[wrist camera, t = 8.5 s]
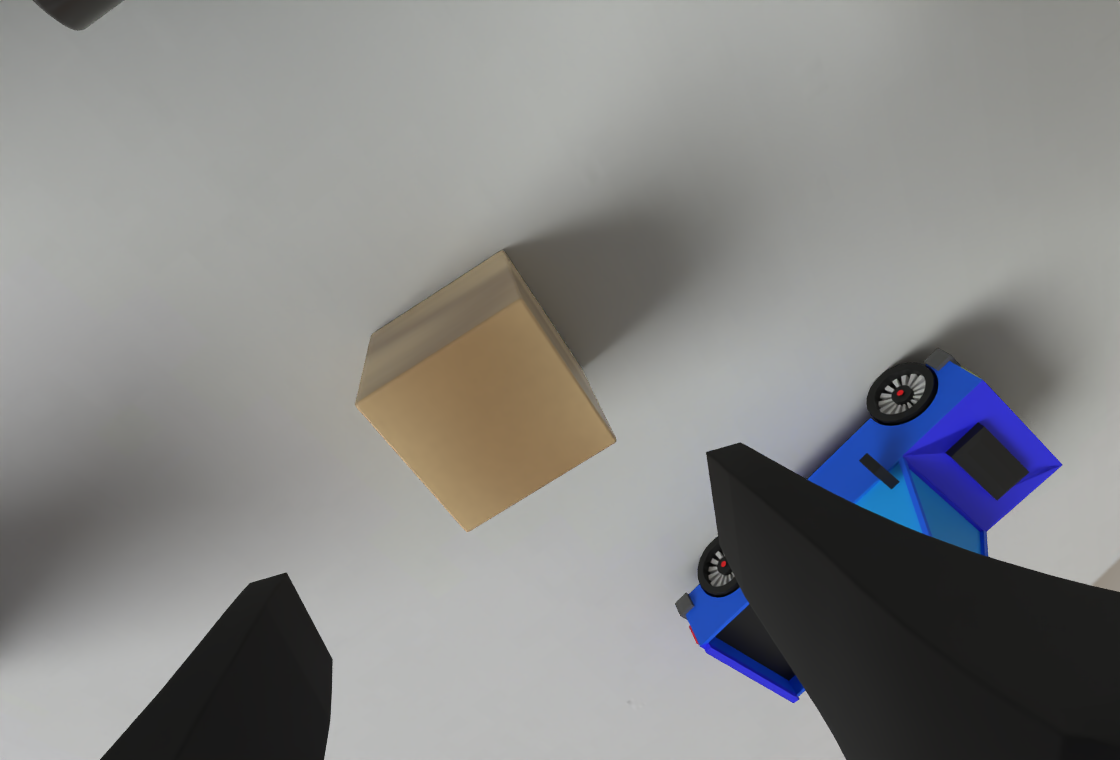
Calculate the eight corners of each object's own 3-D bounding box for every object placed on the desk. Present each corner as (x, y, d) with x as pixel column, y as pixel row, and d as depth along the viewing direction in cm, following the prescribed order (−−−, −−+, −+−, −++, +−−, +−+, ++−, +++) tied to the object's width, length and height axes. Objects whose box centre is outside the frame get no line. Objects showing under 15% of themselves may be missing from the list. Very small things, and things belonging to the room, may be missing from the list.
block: (460, 445, 21) (467, 534, 17) (369, 334, 19) (352, 405, 15) (582, 369, 20) (618, 442, 16) (502, 248, 18) (521, 297, 14)
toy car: (1008, 430, 24) (1138, 512, 20) (769, 648, 27) (836, 764, 22) (906, 324, 22) (1028, 390, 17) (652, 576, 24) (701, 691, 20)
